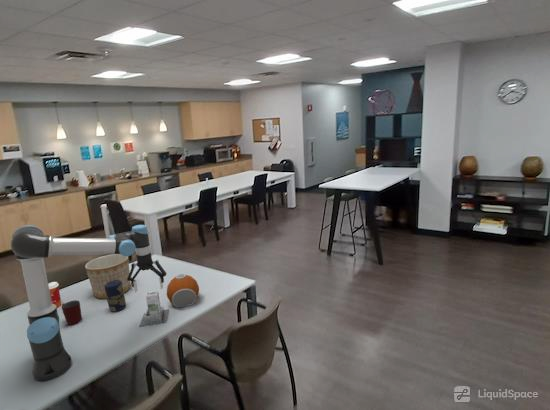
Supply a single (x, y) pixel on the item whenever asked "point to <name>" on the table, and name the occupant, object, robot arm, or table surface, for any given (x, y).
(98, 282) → the planter
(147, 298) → the syrup box
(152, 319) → the collar
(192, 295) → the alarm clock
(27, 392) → the table surface
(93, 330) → the table surface
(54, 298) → the coffee cup
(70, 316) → the mug
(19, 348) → the table surface
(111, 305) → the canister
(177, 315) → the table surface
